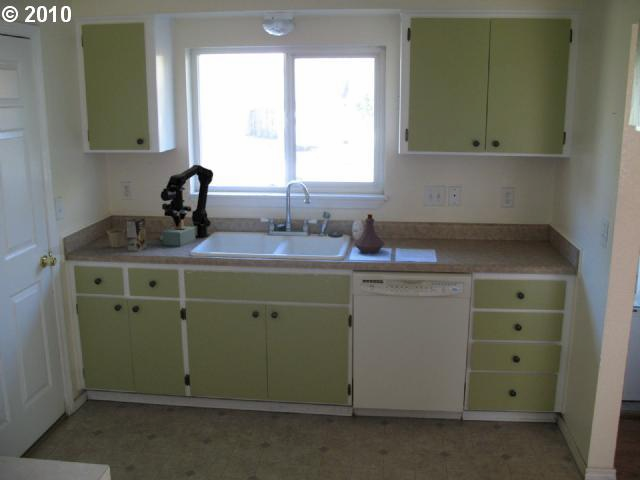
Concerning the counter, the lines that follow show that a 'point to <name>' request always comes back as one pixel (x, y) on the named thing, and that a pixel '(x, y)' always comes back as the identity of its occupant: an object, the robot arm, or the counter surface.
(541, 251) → the counter surface
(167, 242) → the box
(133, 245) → the coffee box
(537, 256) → the counter surface
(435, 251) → the counter surface
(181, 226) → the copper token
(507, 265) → the counter surface
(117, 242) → the flower pot
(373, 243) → the flask
